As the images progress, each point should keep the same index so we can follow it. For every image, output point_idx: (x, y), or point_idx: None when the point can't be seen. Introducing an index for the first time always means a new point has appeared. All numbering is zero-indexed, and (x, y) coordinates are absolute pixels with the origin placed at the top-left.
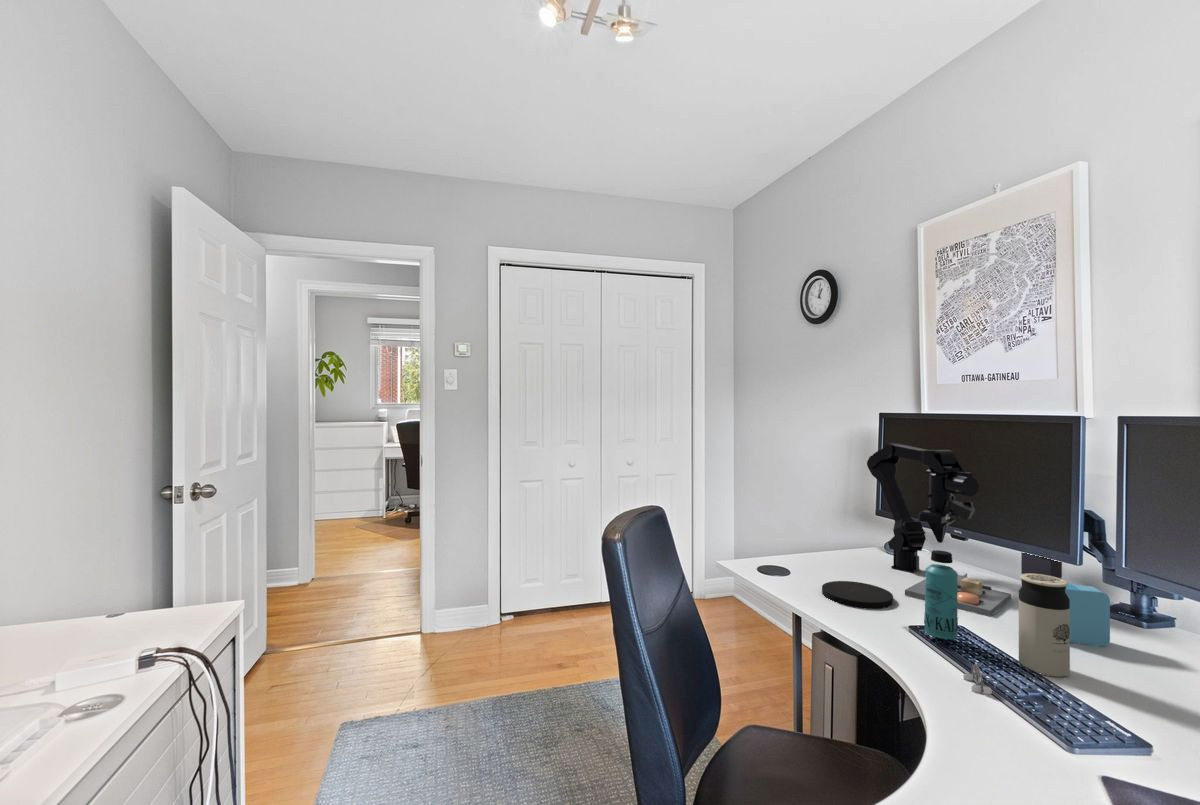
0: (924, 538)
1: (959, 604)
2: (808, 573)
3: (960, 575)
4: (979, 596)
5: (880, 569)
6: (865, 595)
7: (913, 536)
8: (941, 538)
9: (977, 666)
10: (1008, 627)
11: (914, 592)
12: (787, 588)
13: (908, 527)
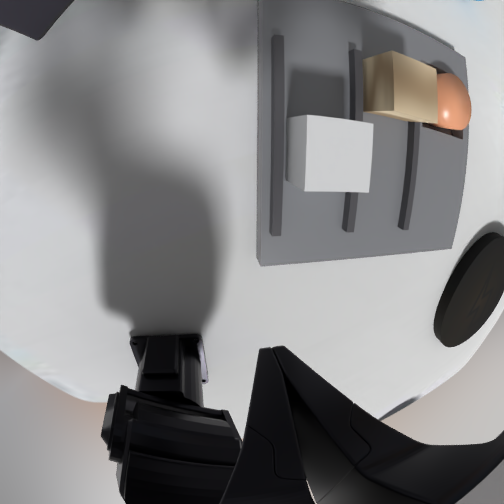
0: (140, 429)
1: None
2: (386, 400)
3: (371, 133)
4: None
5: (246, 384)
6: (494, 274)
7: (207, 454)
8: (310, 369)
9: None
10: (473, 38)
11: (456, 225)
12: (463, 355)
13: (221, 498)
